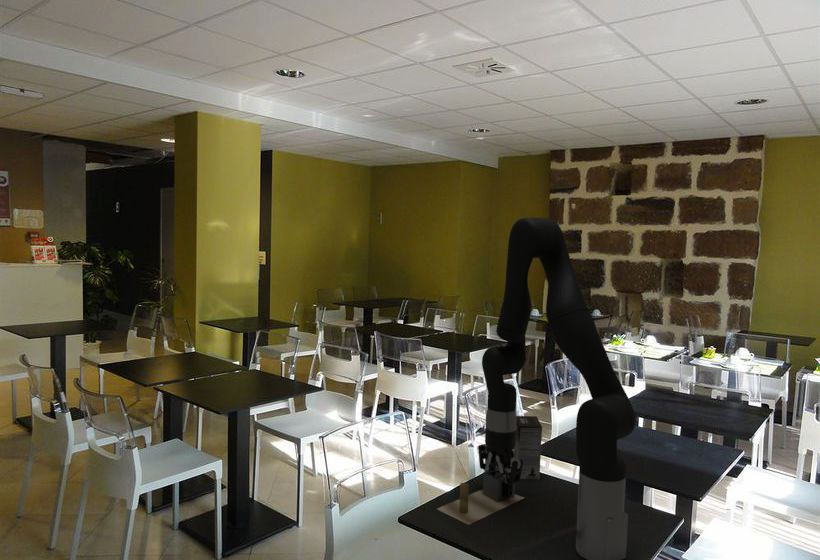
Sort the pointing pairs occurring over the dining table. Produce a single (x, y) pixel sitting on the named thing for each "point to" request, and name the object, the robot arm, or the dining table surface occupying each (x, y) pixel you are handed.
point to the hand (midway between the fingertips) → (498, 492)
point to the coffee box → (528, 446)
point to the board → (475, 505)
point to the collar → (495, 486)
